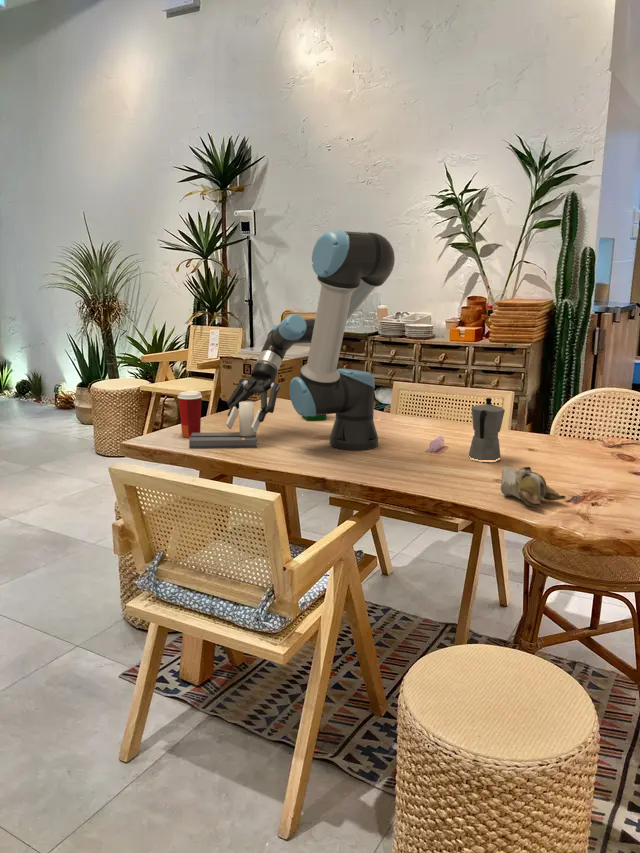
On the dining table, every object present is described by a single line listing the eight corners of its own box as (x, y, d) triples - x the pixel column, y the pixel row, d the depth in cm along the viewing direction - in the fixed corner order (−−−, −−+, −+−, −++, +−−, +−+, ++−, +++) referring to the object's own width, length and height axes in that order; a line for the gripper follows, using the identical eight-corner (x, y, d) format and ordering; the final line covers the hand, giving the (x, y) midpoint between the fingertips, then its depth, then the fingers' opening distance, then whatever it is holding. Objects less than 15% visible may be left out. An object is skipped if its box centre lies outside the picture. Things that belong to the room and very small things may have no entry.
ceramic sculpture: (518, 455, 168) (571, 473, 156) (514, 487, 170) (566, 508, 159) (490, 461, 162) (542, 481, 150) (486, 495, 164) (537, 517, 153)
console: (256, 439, 214) (256, 431, 213) (256, 447, 204) (256, 439, 203) (192, 440, 212) (191, 432, 211) (189, 448, 202) (189, 440, 201)
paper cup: (206, 433, 220) (205, 391, 217) (199, 439, 213) (198, 395, 210) (182, 432, 221) (181, 390, 218) (175, 438, 214) (173, 394, 210)
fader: (253, 439, 211) (253, 401, 208) (254, 442, 207) (253, 404, 204) (239, 439, 210) (239, 401, 208) (239, 442, 206) (239, 404, 203)
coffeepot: (472, 451, 204) (476, 392, 200) (504, 455, 200) (509, 395, 196) (461, 464, 190) (465, 401, 186) (495, 468, 187) (500, 404, 183)
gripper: (299, 378, 214) (275, 438, 203) (242, 373, 222) (216, 431, 211) (292, 363, 208) (267, 425, 197) (233, 358, 216) (206, 417, 205)
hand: (241, 428), depth 204 cm, fingers open, 8 cm apart
